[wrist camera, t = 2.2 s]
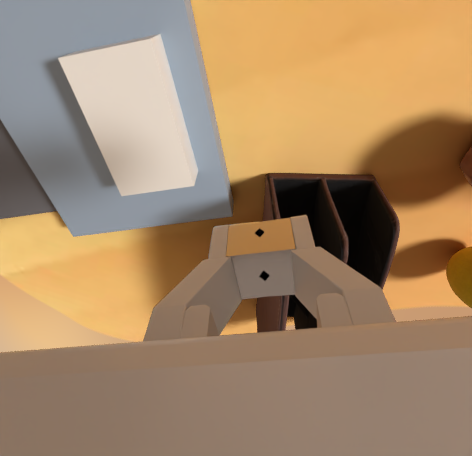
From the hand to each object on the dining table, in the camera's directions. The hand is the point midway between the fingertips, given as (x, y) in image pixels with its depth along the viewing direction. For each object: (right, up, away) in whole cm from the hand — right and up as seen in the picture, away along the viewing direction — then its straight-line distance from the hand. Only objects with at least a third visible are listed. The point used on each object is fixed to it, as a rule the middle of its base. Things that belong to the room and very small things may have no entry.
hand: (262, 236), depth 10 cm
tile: (-8, +9, +14) cm, 18 cm away
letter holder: (+7, -2, +25) cm, 26 cm away
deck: (-11, +10, +16) cm, 22 cm away
